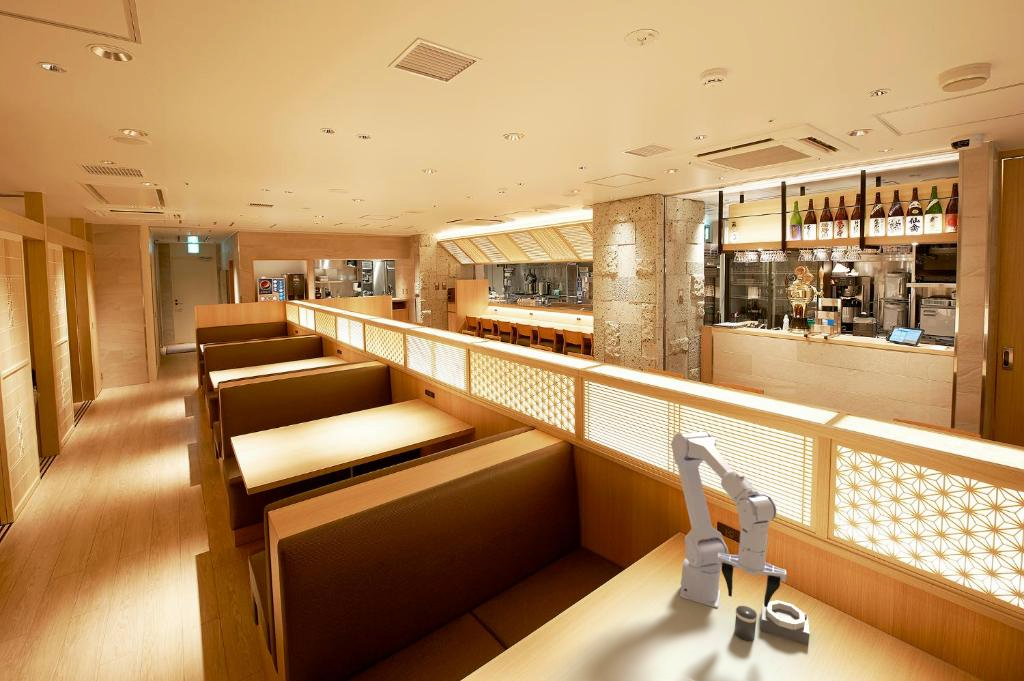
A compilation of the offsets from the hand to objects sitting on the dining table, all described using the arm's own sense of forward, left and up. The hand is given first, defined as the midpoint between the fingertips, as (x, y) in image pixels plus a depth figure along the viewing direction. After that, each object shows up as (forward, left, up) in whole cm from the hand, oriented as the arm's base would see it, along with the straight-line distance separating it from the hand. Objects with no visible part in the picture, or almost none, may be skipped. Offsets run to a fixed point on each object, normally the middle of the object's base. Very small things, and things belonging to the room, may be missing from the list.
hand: (747, 599), depth 117 cm
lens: (0, 0, -9) cm, 9 cm away
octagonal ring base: (+8, +7, -9) cm, 14 cm away
